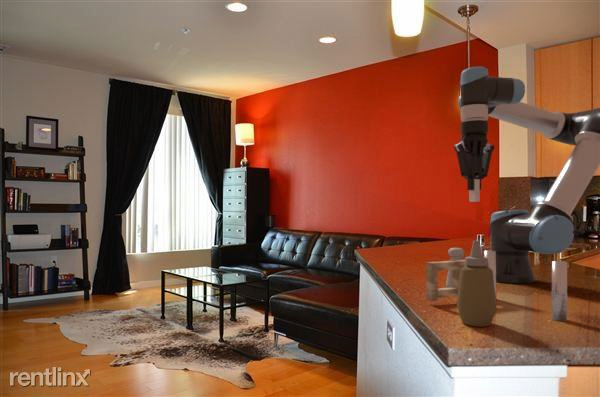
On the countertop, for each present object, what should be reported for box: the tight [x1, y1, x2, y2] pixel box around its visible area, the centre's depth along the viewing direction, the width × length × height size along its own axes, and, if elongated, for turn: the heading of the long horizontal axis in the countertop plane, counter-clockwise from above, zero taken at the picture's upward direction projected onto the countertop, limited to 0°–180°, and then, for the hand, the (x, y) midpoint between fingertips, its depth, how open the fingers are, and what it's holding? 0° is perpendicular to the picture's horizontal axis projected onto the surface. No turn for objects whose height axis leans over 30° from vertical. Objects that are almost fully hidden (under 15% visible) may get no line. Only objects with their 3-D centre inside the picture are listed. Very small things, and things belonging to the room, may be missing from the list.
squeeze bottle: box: [456, 240, 497, 328], centre depth 98 cm, size 8×8×18 cm
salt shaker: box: [445, 247, 465, 288], centre depth 129 cm, size 6×6×13 cm
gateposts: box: [483, 249, 568, 322], centre depth 112 cm, size 25×3×13 cm, turn 18°
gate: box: [425, 259, 487, 302], centre depth 118 cm, size 18×2×10 cm, turn 111°
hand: (474, 201), depth 133 cm, fingers closed
